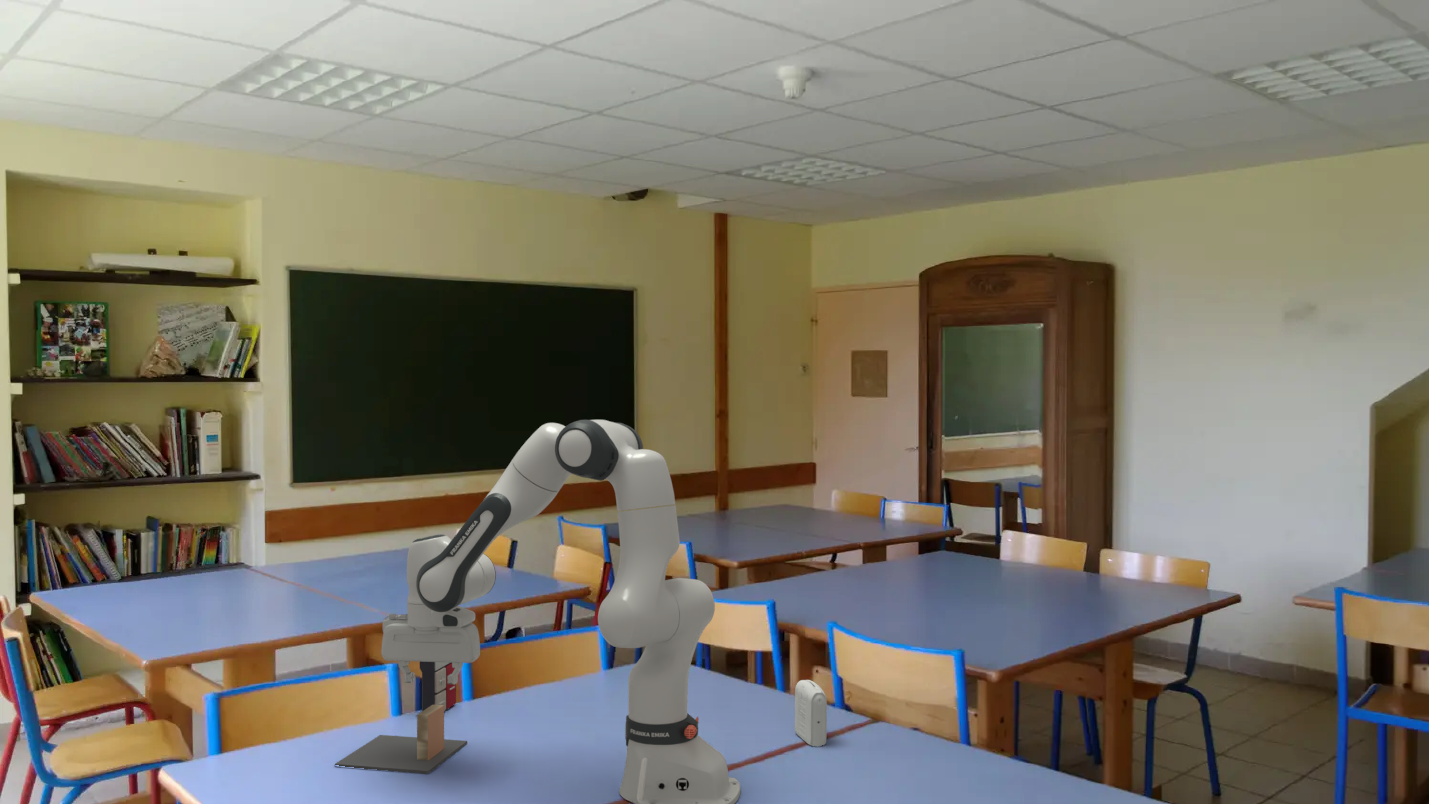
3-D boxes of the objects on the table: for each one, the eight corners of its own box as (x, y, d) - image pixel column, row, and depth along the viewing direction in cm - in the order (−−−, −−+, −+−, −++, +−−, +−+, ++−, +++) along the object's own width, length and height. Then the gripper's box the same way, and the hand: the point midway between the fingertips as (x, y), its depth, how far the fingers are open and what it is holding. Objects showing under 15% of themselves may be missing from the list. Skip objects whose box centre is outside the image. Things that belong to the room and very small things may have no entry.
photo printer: (829, 746, 221) (829, 687, 221) (810, 748, 220) (810, 689, 220) (810, 730, 231) (810, 674, 231) (792, 732, 230) (792, 676, 229)
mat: (467, 743, 222) (467, 740, 222) (428, 774, 204) (428, 771, 204) (380, 737, 226) (380, 734, 226) (334, 766, 208) (334, 763, 208)
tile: (444, 748, 217) (444, 705, 217) (428, 760, 210) (428, 715, 210) (432, 747, 218) (432, 704, 218) (417, 759, 211) (417, 714, 211)
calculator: (436, 718, 239) (436, 653, 239) (419, 717, 240) (419, 652, 240) (458, 704, 250) (457, 641, 249) (441, 703, 250) (441, 641, 250)
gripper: (375, 616, 212) (376, 685, 212) (470, 619, 209) (471, 688, 208) (390, 610, 218) (391, 677, 218) (482, 612, 215) (483, 680, 215)
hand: (430, 682), depth 213 cm, fingers open, 8 cm apart
